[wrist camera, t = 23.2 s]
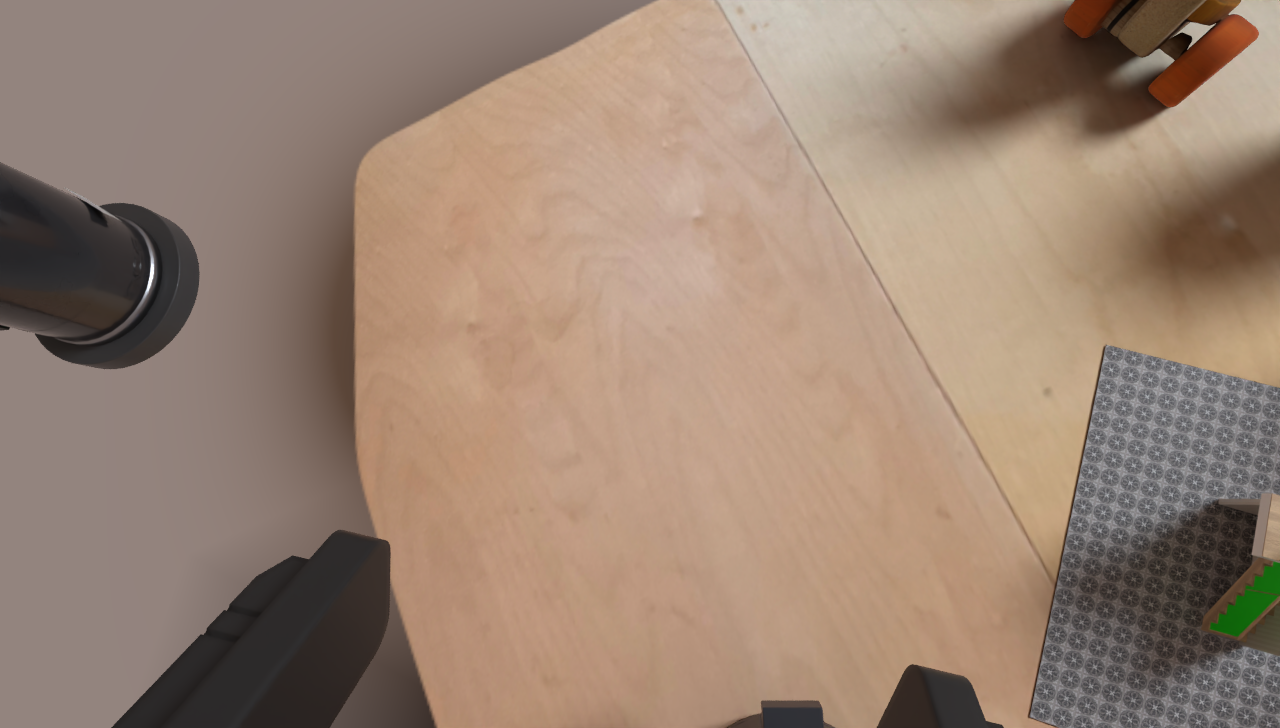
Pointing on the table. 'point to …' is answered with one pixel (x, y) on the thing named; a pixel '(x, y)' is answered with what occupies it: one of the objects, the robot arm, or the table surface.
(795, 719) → the pot
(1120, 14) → the toy helicopter
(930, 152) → the table surface
